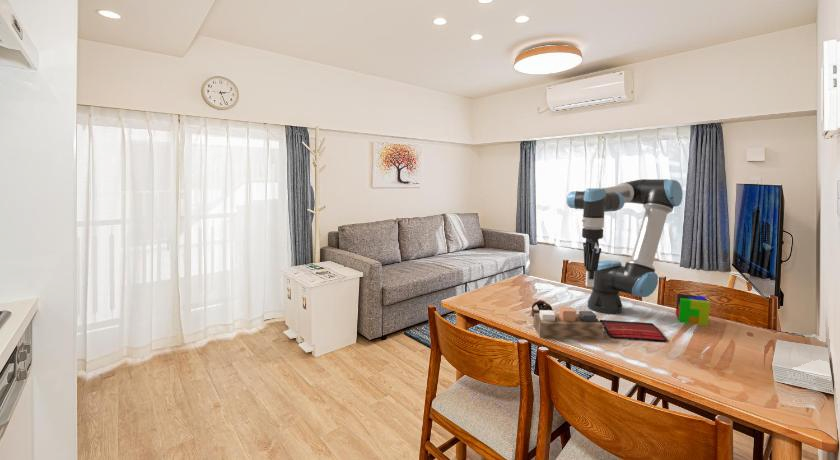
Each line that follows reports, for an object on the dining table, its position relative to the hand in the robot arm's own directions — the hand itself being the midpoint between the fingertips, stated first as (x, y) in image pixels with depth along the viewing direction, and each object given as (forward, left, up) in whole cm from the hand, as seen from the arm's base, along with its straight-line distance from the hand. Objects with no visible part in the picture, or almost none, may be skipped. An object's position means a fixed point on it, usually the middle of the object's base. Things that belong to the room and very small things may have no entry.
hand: (589, 286), depth 153 cm
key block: (+8, 0, -20) cm, 21 cm away
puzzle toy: (-51, -17, -20) cm, 57 cm away
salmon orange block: (+8, 0, -16) cm, 18 cm away
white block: (+16, 0, -17) cm, 24 cm away
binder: (-19, -2, -21) cm, 28 cm away
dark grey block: (0, 0, -17) cm, 17 cm away
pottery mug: (+13, -19, -20) cm, 30 cm away
